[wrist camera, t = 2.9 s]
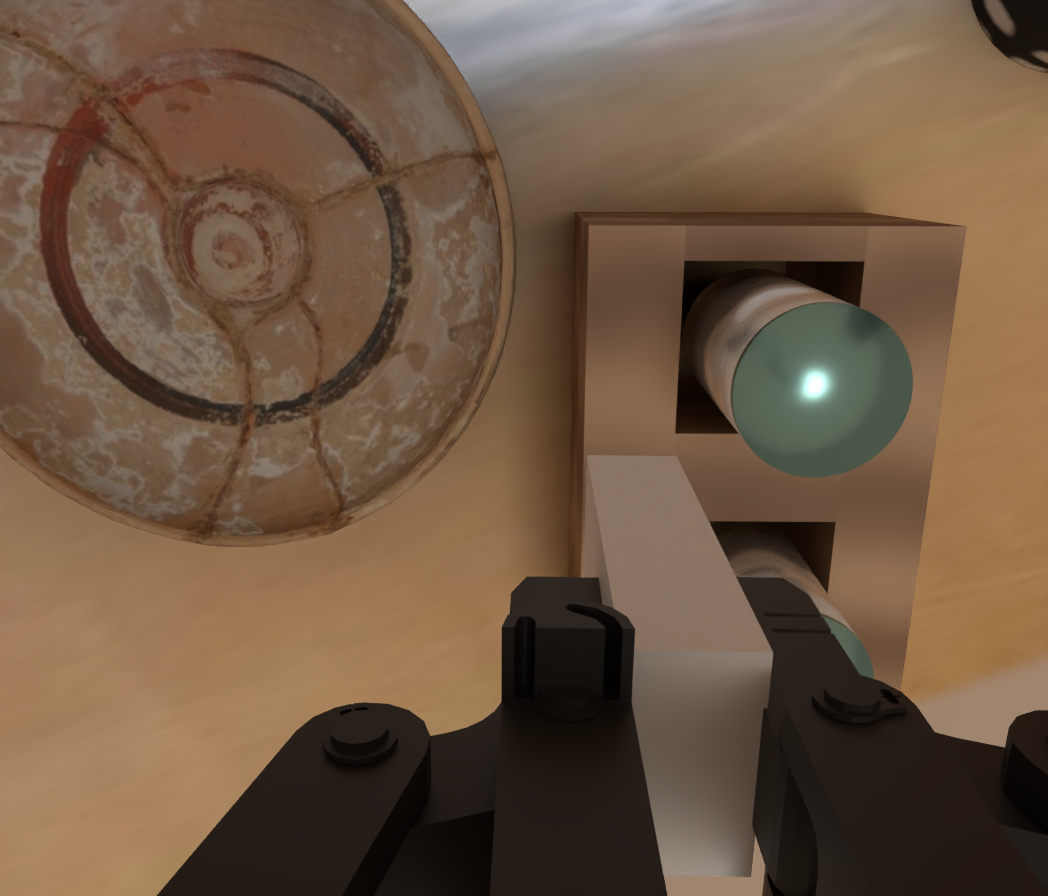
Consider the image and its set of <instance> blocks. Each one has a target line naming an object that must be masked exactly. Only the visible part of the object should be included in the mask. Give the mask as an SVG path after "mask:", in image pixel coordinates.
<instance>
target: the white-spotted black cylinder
mask: <svg viewBox="0 0 1048 896" xmlns="http://www.w3.org/2000/svg"><path fill="white" fill-rule="evenodd" d="M972 2H973V7H974V10H975V12H976V15H977V17H978V19H979V22H980V24H981V27H982V28H983V30H984V31H985V33H986V34H987V35H988V37H989V38H990V40H991V41H992V43H993V44H994V45H995V46H996V47H997V48H998V49H1000V50H1001V51H1002V52H1003V53H1004V54H1005V55H1006V56H1007V57H1008V58H1010V59H1012V60H1014V61H1016V62H1017V63H1019V64H1021V65H1023V66H1025V67H1027V68H1031V69H1035V70H1038V71H1042V72H1047V73H1048V0H972Z"/></svg>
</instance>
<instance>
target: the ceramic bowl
mask: <svg viewBox="0 0 1048 896" xmlns="http://www.w3.org/2000/svg"><path fill="white" fill-rule="evenodd" d="M515 277H516V239H515V226H514V218H513V212H512V206H511V199H510V193H509V188H508V184H507V179H506V175H505V172H504V168H503V165H502V161H501V158H500V155H499V153H498V150H497V148H496V145H495V143H494V140H493V138H492V135H491V133H490V130H489V128H488V126H487V123H486V121H485V119H484V117H483V114H482V112H481V110H480V108H479V106H478V103H477V101H476V99H475V97H474V96H473V94H472V92H471V90H470V88H469V86H468V84H467V83H466V81H465V79H464V78H463V76H462V74H461V73H460V71H459V70H458V68H457V66H456V65H455V63H454V61H453V60H452V59H451V57H450V56H449V54H448V53H447V51H446V50H445V49H444V47H443V46H442V45H441V43H440V42H439V41H438V40H437V38H436V37H435V36H434V35H433V33H432V32H431V31H430V30H429V28H428V27H427V26H426V25H425V24H424V23H423V21H422V20H421V19H420V18H419V17H418V16H417V15H416V14H415V13H414V12H413V11H412V10H411V8H410V7H409V6H408V5H407V4H406V3H405V2H404V1H403V0H0V447H1V448H2V449H3V450H4V451H5V452H6V453H7V454H8V455H9V456H10V457H11V458H13V459H14V460H15V461H17V462H18V463H19V464H21V465H22V466H23V467H24V468H26V469H27V470H28V471H30V472H31V473H32V474H34V475H35V476H36V477H37V478H39V479H40V480H41V481H42V482H44V483H45V484H47V485H48V486H50V487H51V488H53V489H54V490H56V491H57V492H59V493H61V494H62V495H64V496H66V497H68V498H70V499H72V500H74V501H76V502H78V503H79V504H81V505H83V506H85V507H87V508H88V509H90V510H92V511H94V512H96V513H99V514H101V515H103V516H105V517H107V518H109V519H111V520H114V521H116V522H119V523H122V524H125V525H128V526H131V527H134V528H136V529H139V530H143V531H146V532H149V533H153V534H156V535H160V536H164V537H168V538H172V539H177V540H182V541H187V542H193V543H198V544H203V545H209V546H223V547H253V546H267V545H275V544H282V543H289V542H294V541H300V540H305V539H310V538H315V537H319V536H323V535H328V534H330V533H333V532H335V531H337V530H339V529H341V528H343V527H345V526H348V525H350V524H352V523H354V522H357V521H359V520H361V519H363V518H365V517H366V516H368V515H370V514H372V513H374V512H376V511H377V510H379V509H381V508H383V507H384V506H386V505H388V504H389V503H391V502H392V501H393V500H395V499H396V498H398V497H399V496H400V495H402V494H403V493H404V492H406V491H407V490H408V489H409V488H411V487H412V486H413V485H414V484H416V483H417V482H418V481H419V480H421V479H422V478H423V477H424V476H425V475H426V474H427V473H428V472H429V471H430V470H431V469H433V468H434V467H435V466H436V465H437V463H438V462H439V461H440V460H441V459H442V458H443V457H444V456H445V455H446V454H447V452H448V451H449V450H450V448H451V447H452V446H453V445H454V443H455V442H456V441H457V439H458V438H459V437H460V436H461V434H462V433H463V431H464V430H465V428H466V427H467V425H468V424H469V422H470V421H471V419H472V417H473V416H474V414H475V413H476V411H477V409H478V408H479V406H480V404H481V402H482V400H483V398H484V396H485V394H486V392H487V390H488V388H489V386H490V383H491V381H492V379H493V377H494V375H495V372H496V369H497V366H498V364H499V361H500V358H501V355H502V352H503V348H504V344H505V340H506V336H507V331H508V327H509V323H510V319H511V313H512V306H513V299H514V292H515Z"/></svg>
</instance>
